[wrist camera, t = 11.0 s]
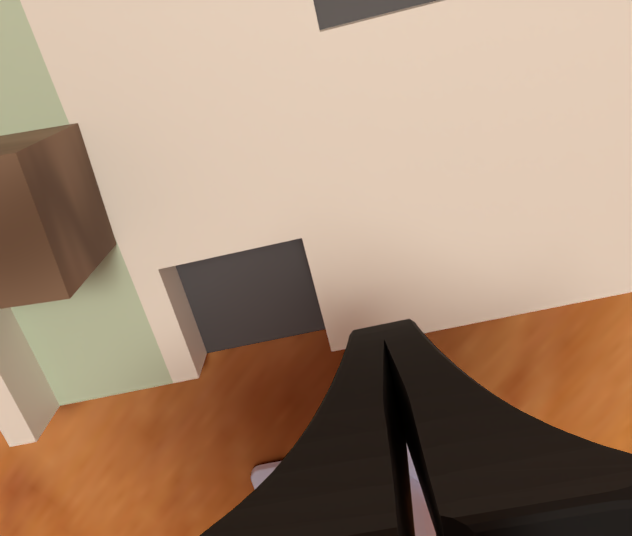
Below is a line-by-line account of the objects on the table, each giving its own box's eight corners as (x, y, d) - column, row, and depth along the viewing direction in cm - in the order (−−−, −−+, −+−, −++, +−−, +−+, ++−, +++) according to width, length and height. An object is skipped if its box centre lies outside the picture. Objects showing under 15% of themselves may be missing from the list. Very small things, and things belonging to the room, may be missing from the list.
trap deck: (700, 248, 22) (779, 298, 18) (56, 379, 24) (10, 446, 20) (718, -258, 16) (843, -341, 12) (-140, -16, 18) (-256, -23, 14)
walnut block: (116, 243, 19) (69, 298, 16) (1, 261, 20) (-71, 319, 16) (78, 122, 18) (15, 153, 14) (-47, 143, 18) (-140, 178, 14)
